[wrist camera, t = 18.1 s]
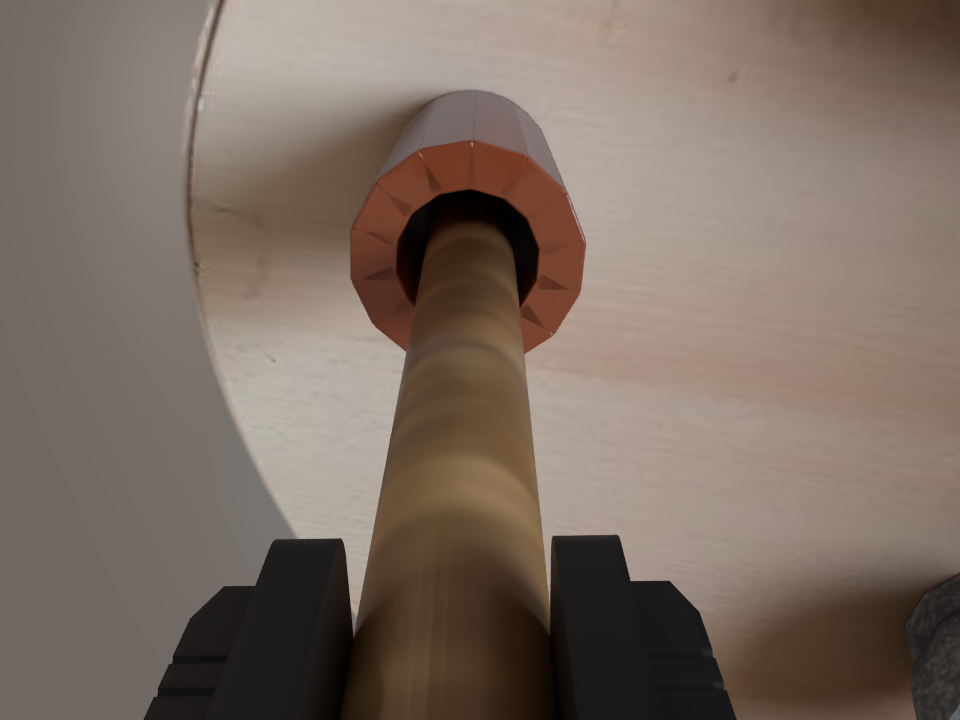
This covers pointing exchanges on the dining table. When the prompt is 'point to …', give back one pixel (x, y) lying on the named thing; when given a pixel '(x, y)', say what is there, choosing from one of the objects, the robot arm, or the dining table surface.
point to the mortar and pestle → (936, 653)
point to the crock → (457, 174)
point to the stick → (458, 504)
